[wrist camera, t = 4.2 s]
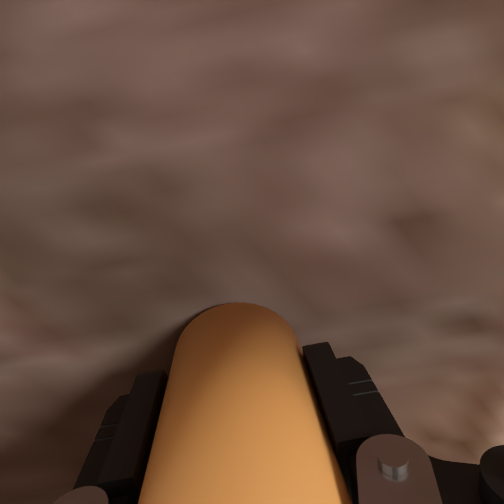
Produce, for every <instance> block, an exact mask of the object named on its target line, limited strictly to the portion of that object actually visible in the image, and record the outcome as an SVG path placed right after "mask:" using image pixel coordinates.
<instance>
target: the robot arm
mask: <svg viewBox="0 0 504 504" xmlns="http://www.w3.org/2000/svg"><path fill="white" fill-rule="evenodd" d="M302 349H303V357H304V360H305V363H306V366H307V369H308V372H309V375H310V378H311V381H312V384H313V387H314V390H315V393H316V396H317V399H318V402H319V406H320V409H321V412H322V415H323V418H324V421H325V424H326V427H327V430H328V433H329V436H330V439H331V442H332V445H333V448H334V451H335V454H336V457H337V460H338V463H339V466H340V468H341V471H342V473H343V476H344V479H345V482H346V485H347V488H348V491H349V494H350V497H351V500H352V503H353V504H504V445H500V446H495V447H492V448H490V449H488V450H487V451H486V452H485V453H484V454H483V455H482V457H481V459H480V465H477V464H468V463H459V462H450V461H444V460H440V459H436V458H434V457H431V456H428V455H427V453H426V452H425V451H424V450H423V449H422V448H421V447H420V446H419V445H418V444H416V443H415V442H413V441H412V440H410V439H408V438H405V436H404V435H403V433H402V431H401V429H400V428H399V426H398V424H397V423H396V421H395V419H394V417H393V416H392V414H391V412H390V410H389V409H388V407H387V405H386V403H385V402H384V400H383V398H382V396H381V395H380V393H378V390H377V388H376V386H375V384H374V383H373V381H372V380H371V377H370V376H369V374H368V372H367V370H366V369H365V367H364V366H363V365H362V364H360V363H359V362H358V361H356V360H355V359H353V358H352V357H351V356H349V357H343V358H337V359H336V357H335V355H334V353H333V351H332V349H331V347H330V345H329V343H328V342H323V343H317V344H312V345H306V346H303V347H302ZM167 382H168V375H167V373H166V371H165V370H160V371H154V372H148V373H143V374H138V375H137V377H136V379H135V382H134V384H133V387H132V390H131V392H130V394H128V395H123V396H120V397H119V398H118V399H117V400H116V401H115V402H114V403H113V404H112V406H111V407H110V408H109V409H108V410H107V412H106V414H105V417H104V419H103V421H102V424H101V428H100V429H99V430H98V433H97V435H96V437H95V442H93V444H92V447H91V449H90V451H89V454H88V456H87V458H86V461H85V463H84V465H83V467H82V470H81V472H80V474H79V477H78V479H77V481H76V484H75V486H74V488H73V490H72V491H70V492H68V493H66V494H64V495H63V496H61V497H60V498H58V499H57V500H56V501H55V502H53V503H52V504H138V501H139V497H140V493H141V489H142V485H143V481H144V476H145V472H146V468H147V464H148V460H149V456H150V452H151V448H152V443H153V439H154V435H155V431H156V427H157V423H158V419H159V415H160V410H161V406H162V402H163V398H164V394H165V390H166V386H167Z"/></svg>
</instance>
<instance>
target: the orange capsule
mask: <svg viewBox="0 0 504 504" xmlns="http://www.w3.org/2000/svg"><path fill="white" fill-rule="evenodd" d="M138 504H353V503H352V500H351V497H350V494H349V491H348V488H347V485H346V482H345V479H344V476H343V473H342V471H341V468H340V466H339V463H338V460H337V457H336V454H335V451H334V448H333V445H332V442H331V439H330V436H329V433H328V430H327V427H326V424H325V421H324V418H323V415H322V412H321V409H320V406H319V402H318V399H317V396H316V393H315V390H314V387H313V384H312V381H311V378H310V375H309V372H308V369H307V366H306V363H305V360H304V357H303V353H302V350H301V347H300V344H299V341H298V339H297V336H296V334H295V332H294V331H293V329H292V328H291V326H290V325H289V324H288V323H287V322H286V321H285V320H284V319H283V318H282V317H281V316H279V315H278V314H277V313H275V312H273V311H272V310H270V309H268V308H265V307H262V306H259V305H255V304H250V303H228V304H223V305H219V306H216V307H213V308H211V309H209V310H207V311H205V312H203V313H201V314H200V315H198V316H197V317H196V318H194V319H193V320H192V321H191V322H190V323H189V324H188V325H187V327H186V328H185V329H184V331H183V332H182V334H181V335H180V337H179V340H178V342H177V345H176V349H175V353H174V357H173V361H172V365H171V369H170V373H169V377H168V382H167V386H166V390H165V394H164V398H163V402H162V406H161V410H160V415H159V419H158V423H157V427H156V431H155V435H154V439H153V443H152V448H151V452H150V456H149V460H148V464H147V468H146V472H145V476H144V481H143V485H142V489H141V493H140V497H139V501H138Z"/></svg>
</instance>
